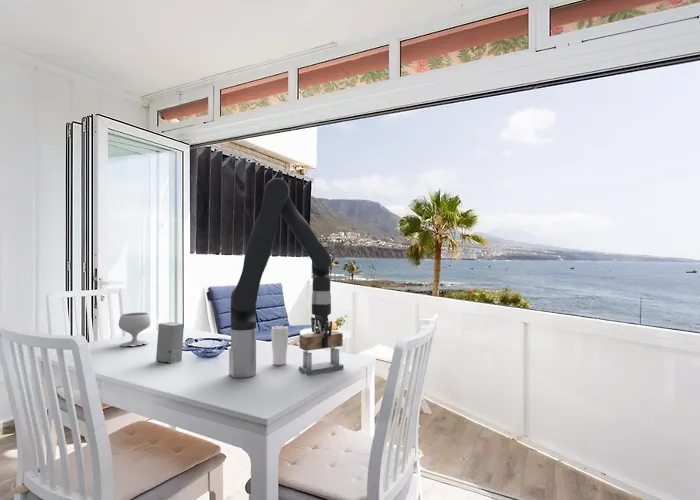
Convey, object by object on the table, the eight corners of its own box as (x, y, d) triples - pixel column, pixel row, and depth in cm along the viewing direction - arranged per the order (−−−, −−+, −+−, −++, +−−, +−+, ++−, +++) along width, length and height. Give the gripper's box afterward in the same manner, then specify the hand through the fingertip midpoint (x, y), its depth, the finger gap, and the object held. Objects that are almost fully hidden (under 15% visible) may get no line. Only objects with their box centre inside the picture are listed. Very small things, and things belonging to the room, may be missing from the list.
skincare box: (155, 361, 170) (155, 323, 170) (169, 357, 177) (169, 321, 177) (171, 363, 167) (171, 325, 167) (184, 359, 174) (184, 322, 174)
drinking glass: (284, 366, 163) (284, 329, 163) (268, 365, 165) (268, 328, 165) (290, 362, 170) (290, 326, 170) (275, 361, 171) (275, 325, 171)
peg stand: (306, 374, 152) (306, 354, 152) (298, 370, 158) (298, 350, 158) (343, 368, 160) (343, 349, 160) (334, 364, 166) (335, 346, 166)
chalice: (130, 341, 210) (130, 312, 210) (156, 341, 208) (156, 312, 209) (111, 347, 196) (112, 316, 196) (139, 348, 195) (139, 316, 195)
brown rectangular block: (305, 350, 153) (305, 337, 153) (299, 347, 158) (299, 334, 158) (342, 346, 161) (342, 333, 161) (335, 343, 166) (335, 331, 166)
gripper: (304, 300, 164) (304, 343, 163) (321, 304, 151) (320, 350, 151) (321, 299, 167) (321, 341, 167) (338, 303, 155) (338, 348, 155)
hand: (321, 345), depth 159 cm, fingers closed on brown rectangular block, 5 cm apart
